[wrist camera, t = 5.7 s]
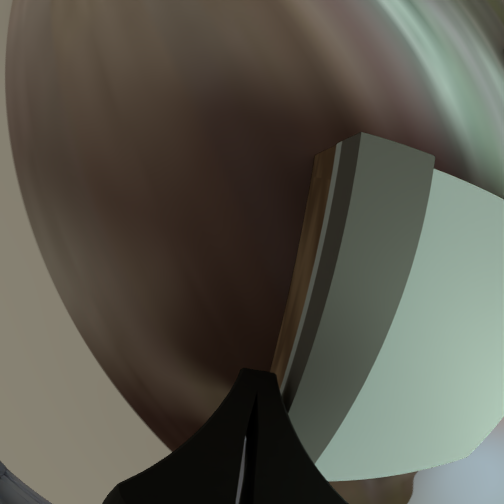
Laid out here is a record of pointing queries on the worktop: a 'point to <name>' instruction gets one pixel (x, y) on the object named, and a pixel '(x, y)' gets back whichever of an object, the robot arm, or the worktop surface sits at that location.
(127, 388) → the worktop surface
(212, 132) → the worktop surface
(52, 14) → the worktop surface
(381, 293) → the lid
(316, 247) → the crate
